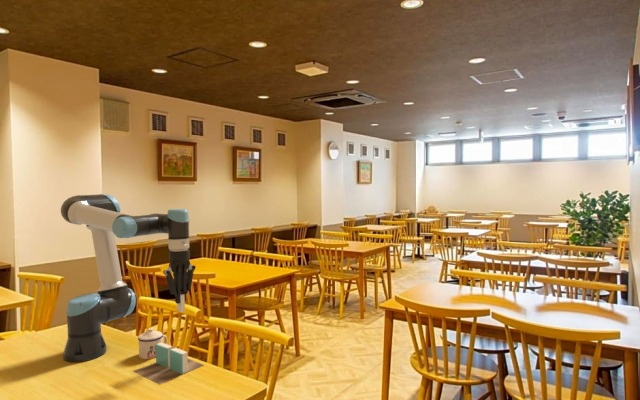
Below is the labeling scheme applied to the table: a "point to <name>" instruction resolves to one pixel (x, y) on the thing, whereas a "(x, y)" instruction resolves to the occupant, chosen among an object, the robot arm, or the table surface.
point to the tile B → (178, 360)
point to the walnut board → (164, 371)
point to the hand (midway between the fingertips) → (181, 311)
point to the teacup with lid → (149, 343)
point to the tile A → (163, 354)
